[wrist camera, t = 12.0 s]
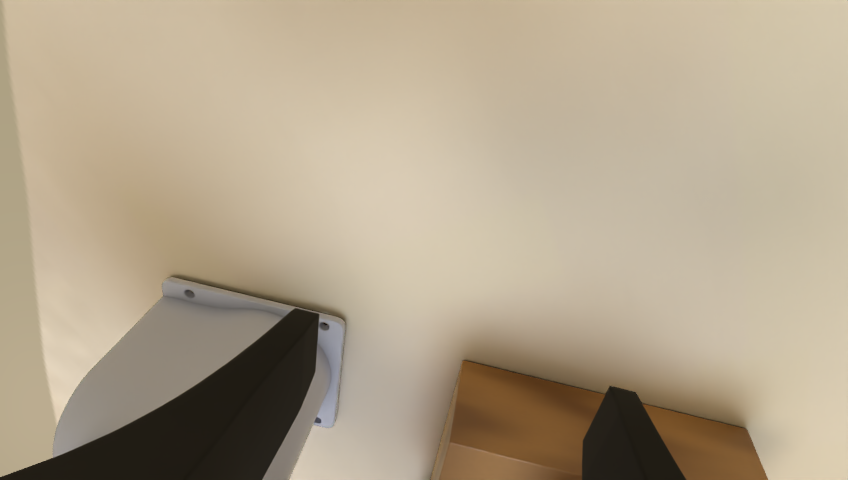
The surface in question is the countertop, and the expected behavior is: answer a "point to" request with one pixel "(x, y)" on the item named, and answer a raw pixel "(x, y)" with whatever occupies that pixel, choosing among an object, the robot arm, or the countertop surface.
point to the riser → (565, 432)
